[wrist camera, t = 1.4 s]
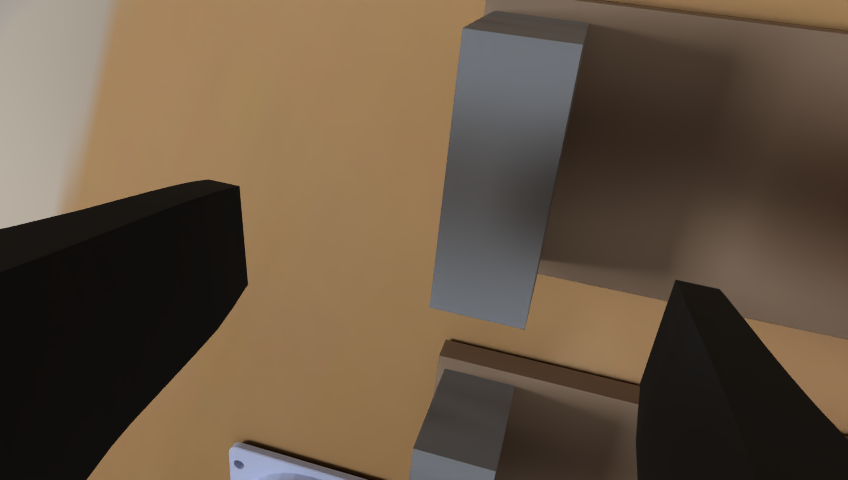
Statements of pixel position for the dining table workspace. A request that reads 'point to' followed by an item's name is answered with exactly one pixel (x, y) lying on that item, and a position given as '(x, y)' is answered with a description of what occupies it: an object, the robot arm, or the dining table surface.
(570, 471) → the empty strip
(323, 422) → the dining table surface
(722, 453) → the robot arm
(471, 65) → the brown and grey piece
